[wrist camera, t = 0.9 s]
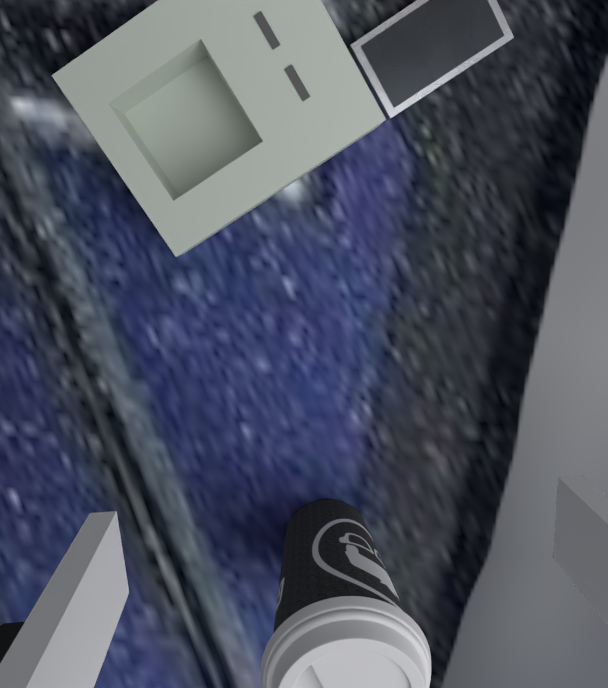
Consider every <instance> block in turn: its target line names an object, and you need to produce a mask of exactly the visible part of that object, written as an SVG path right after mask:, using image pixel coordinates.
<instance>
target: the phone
mask: <svg viewBox="0 0 608 688" xmlns="http://www.w3.org/2000/svg"><path fill="white" fill-rule="evenodd" d="M512 38H514V37H513V34H512V32H511V30H510V28H509V26H508V24H507V22H506V20H505V17H504V15H503V13H502V11H501V9H500V7H499V5H498V3H497V1H496V0H416V1H415V2H413V3H412V4H411V5H409V6H408V7H406V8H405V9H403V10H402V11H400V12H399V13H397V14H396V15H394V16H393V17H391V18H390V19H388V20H387V21H385V22H384V23H382V24H381V25H379V26H378V27H376V28H375V29H373V30H372V31H370V32H369V33H367V34H366V35H364V36H363V37H361V38H360V39H359V40H357V41H356V42H354V43H353V44H351V45H350V47H349V49H348V50H349V51H350V53H351V55H352V57H353V59H354V61H355V62H356V64H357V66H358V68H359V70H360V72H361V73H362V75H363V77H364V79H365V81H366V83H367V84H368V86H369V88H370V90H371V92H372V93H373V95H374V97H375V99H376V101H377V103H378V104H379V106H380V108H381V110H382V112H383V114H384V115H385V117H386V119H387V121H388V120H389V119H391V118H392V117H394V116H395V115H397V114H398V113H400V112H402V111H403V110H405V109H406V108H408V107H409V106H411V105H412V104H414V103H415V102H417V101H418V100H420V99H421V98H423V97H424V96H426V95H427V94H429V93H431V92H432V91H434V90H435V89H437V88H438V87H440V86H441V85H443V84H444V83H446V82H447V81H449V80H450V79H452V78H453V77H455V76H457V75H458V74H460V73H461V72H463V71H464V70H466V69H467V68H469V67H470V66H472V65H473V64H475V63H476V62H478V61H479V60H481V59H482V58H484V57H486V56H487V55H489V54H490V53H492V52H493V51H495V50H496V49H498V48H499V47H501V46H502V45H504V44H505V43H507V42H508V41H510V40H511V39H512Z"/></svg>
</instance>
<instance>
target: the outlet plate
mask: <svg viewBox="0 0 608 688" xmlns="http://www.w3.org/2000/svg"><path fill="white" fill-rule="evenodd" d="M52 77H53V78H54V80H55V81H56V83H57V84H58V86H59V87H60V89H61V90H62V92H63V93H64V95H65V96H66V97H67V99H68V100H69V102H70V103H71V105H72V106H73V108H74V109H75V111H76V112H77V113H78V115H79V116H80V118H81V119H82V121H83V122H84V124H85V125H86V127H87V128H88V130H89V131H90V132H91V134H92V135H93V137H94V138H95V140H96V141H97V143H98V144H99V146H100V147H101V149H102V150H103V151H104V153H105V154H106V156H107V157H108V159H109V160H110V162H111V163H112V165H113V166H114V167H115V169H116V170H117V172H118V173H119V175H120V176H121V178H122V179H123V181H124V182H125V184H126V185H127V186H128V188H129V189H130V191H131V192H132V194H133V195H134V197H135V198H136V200H137V201H138V202H139V204H140V205H141V207H142V208H143V210H144V211H145V213H146V214H147V216H148V217H149V219H150V220H151V221H152V223H153V224H154V226H155V227H156V229H157V230H158V232H159V233H160V235H161V236H162V237H163V239H164V240H165V242H166V243H167V245H168V246H169V248H170V249H171V251H172V252H173V254H174V255H175V256H176V257H177V256H179V255H182V254H184V253H186V252H188V251H189V250H191V249H192V248H194V247H195V246H197V245H198V244H200V243H201V242H203V241H204V240H206V239H207V238H209V237H210V236H212V235H214V234H215V233H217V232H218V231H220V230H221V229H223V228H224V227H226V226H227V225H229V224H230V223H232V222H233V221H235V220H236V219H238V218H240V217H241V216H243V215H244V214H246V213H247V212H249V211H250V210H252V209H253V208H255V207H256V206H258V205H259V204H261V203H262V202H264V201H266V200H267V199H269V198H270V197H272V196H273V195H275V194H276V193H278V192H279V191H281V190H282V189H284V188H285V187H287V186H288V185H290V184H291V183H293V182H295V181H296V180H298V179H299V178H301V177H302V176H304V175H305V174H307V173H308V172H310V171H311V170H313V169H314V168H316V167H317V166H319V165H321V164H322V163H324V162H325V161H327V160H328V159H330V158H331V157H333V156H334V155H336V154H337V153H339V152H340V151H342V150H343V149H345V148H346V147H348V146H350V145H351V144H353V143H354V142H356V141H357V140H359V139H360V138H362V137H363V136H365V135H366V134H368V133H369V132H371V131H372V130H374V129H375V128H376V127H378V126H379V125H380V124H381V123H382V122H384V121H385V120H386V118H385V116H384V115H383V113H382V111H381V109H380V107H379V106H378V104H377V102H376V100H375V98H374V96H373V95H372V93H371V91H370V89H369V87H368V85H367V84H366V82H365V80H364V78H363V76H362V75H361V73H360V71H359V69H358V67H357V65H356V64H355V62H354V60H353V58H352V56H351V54H350V53H349V51H348V49H347V47H346V45H345V43H344V42H343V40H342V38H341V36H340V34H339V33H338V31H337V29H336V27H335V25H334V23H333V22H332V20H331V18H330V16H329V14H328V12H327V11H326V9H325V7H324V5H323V3H322V1H321V0H158V1H156V2H155V3H154V4H152V5H151V6H149V7H148V8H146V9H145V10H144V11H142V12H141V13H139V14H138V15H137V16H135V17H134V18H132V19H131V20H129V21H128V22H127V23H125V24H124V25H122V26H121V27H120V28H118V29H117V30H115V31H114V32H112V33H111V34H110V35H108V36H107V37H105V38H104V39H103V40H101V41H100V42H98V43H97V44H95V45H94V46H93V47H91V48H90V49H88V50H87V51H86V52H84V53H83V54H81V55H80V56H78V57H77V58H76V59H74V60H73V61H71V62H70V63H69V64H67V65H66V66H64V67H63V68H62V69H60V70H59V71H57V72H56V73H54V74H53V75H52Z"/></svg>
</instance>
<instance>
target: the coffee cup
mask: <svg viewBox="0 0 608 688" xmlns="http://www.w3.org/2000/svg"><path fill="white" fill-rule="evenodd" d="M430 679H431V655H430V649H429V646H428V643H427V640H426V638H425V636H424V634H423V632H422V630H421V629H420V628H419V626H418V625H417V624H416V623H415V621H414V620H413V619H412V618H411V617H409V616H408V615H407V614H406V613H405V611H404V609H403V607H402V604H401V602H400V600H399V598H398V596H397V593H396V591H395V589H394V587H393V584H392V582H391V580H390V578H389V575H388V573H387V571H386V569H385V566H384V564H383V562H382V560H381V558H380V555H379V553H378V551H377V548H376V546H375V544H374V542H373V539H372V537H371V535H370V533H369V530H368V528H367V526H366V524H365V522H364V520H363V518H362V516H361V515H360V514H359V512H358V511H357V510H356V509H354V508H353V507H352V506H350V505H348V504H346V503H344V502H341V501H337V500H318V501H315V502H312V503H309V504H307V505H305V506H304V507H302V508H301V509H299V510H298V511H297V512H296V513H295V514H294V515H293V517H292V518H291V520H290V521H289V523H288V526H287V529H286V534H285V542H284V550H283V559H282V567H281V575H280V584H279V592H278V600H277V608H276V616H275V624H274V632H273V635H272V637H271V638H270V640H269V642H268V644H267V646H266V648H265V651H264V654H263V657H262V662H261V681H262V686H263V688H429V686H430Z"/></svg>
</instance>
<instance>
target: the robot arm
mask: <svg viewBox="0 0 608 688" xmlns="http://www.w3.org/2000/svg"><path fill="white" fill-rule="evenodd" d="M553 558H554V559H555V560H556V561H557V563H558V564H559V565H560V567H561V568H562V569H563V570H564V572H565V573H566V574H567V575H568V576H569V578H570V579H571V580H572V582H573V583H574V584H575V585H576V586H577V588H578V589H579V590H580V592H581V593H582V594H583V595H584V597H585V598H586V599H587V600H588V601H589V603H590V604H591V605H592V607H593V608H594V609H595V610H596V611H597V613H598V614H599V615H600V617H601V618H602V619H603V620H604V622H605V623H606V624H607V625H608V496H607V495H606V494H604V493H603V492H602V491H601V490H600V489H599V488H597V487H596V486H595V485H594V484H593V483H592V482H591V481H589V480H588V479H587V478H586V477H585V476H584V475H577V476H576V475H575V476H563V477H558V485H557V501H556V517H555V532H554V546H553ZM128 594H129V588H128V582H127V576H126V569H125V563H124V556H123V550H122V543H121V537H120V531H119V524H118V518H117V511H112V512H99V513H90V514H89V515H88V517H87V519H86V520H85V522H84V524H83V525H82V527H81V529H80V530H79V532H78V534H77V536H76V537H75V539H74V541H73V542H72V544H71V546H70V547H69V549H68V551H67V552H66V554H65V556H64V557H63V559H62V561H61V562H60V564H59V566H58V567H57V569H56V571H55V572H54V574H53V576H52V578H51V579H50V581H49V583H48V584H47V586H46V588H45V589H44V591H43V593H42V594H41V596H40V598H39V599H38V601H37V603H36V604H35V606H34V608H33V609H32V611H31V613H30V614H29V616H28V618H27V620H26V621H25V622H17V623H5V624H2V625H1V626H0V688H94V685H95V683H96V680H97V677H98V675H99V672H100V669H101V666H102V664H103V661H104V658H105V656H106V653H107V650H108V648H109V645H110V642H111V640H112V637H113V634H114V632H115V629H116V626H117V623H118V621H119V618H120V615H121V613H122V610H123V607H124V605H125V602H126V599H127V597H128Z"/></svg>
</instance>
